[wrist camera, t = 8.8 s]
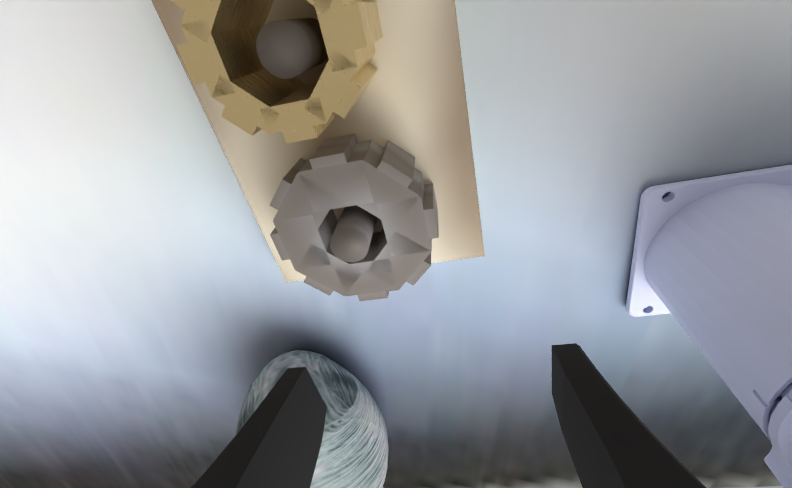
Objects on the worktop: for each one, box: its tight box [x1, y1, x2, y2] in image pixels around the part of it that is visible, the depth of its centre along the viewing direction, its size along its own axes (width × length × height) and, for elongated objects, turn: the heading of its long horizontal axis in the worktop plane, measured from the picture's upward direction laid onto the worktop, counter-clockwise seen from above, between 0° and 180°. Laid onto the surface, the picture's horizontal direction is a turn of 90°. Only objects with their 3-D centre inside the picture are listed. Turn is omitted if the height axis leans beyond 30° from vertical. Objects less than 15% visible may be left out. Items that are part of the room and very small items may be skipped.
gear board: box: [152, 0, 485, 301], centre depth 15 cm, size 11×14×4 cm
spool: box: [235, 350, 388, 488], centre depth 25 cm, size 14×10×10 cm
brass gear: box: [171, 0, 383, 143], centre depth 12 cm, size 6×6×4 cm
